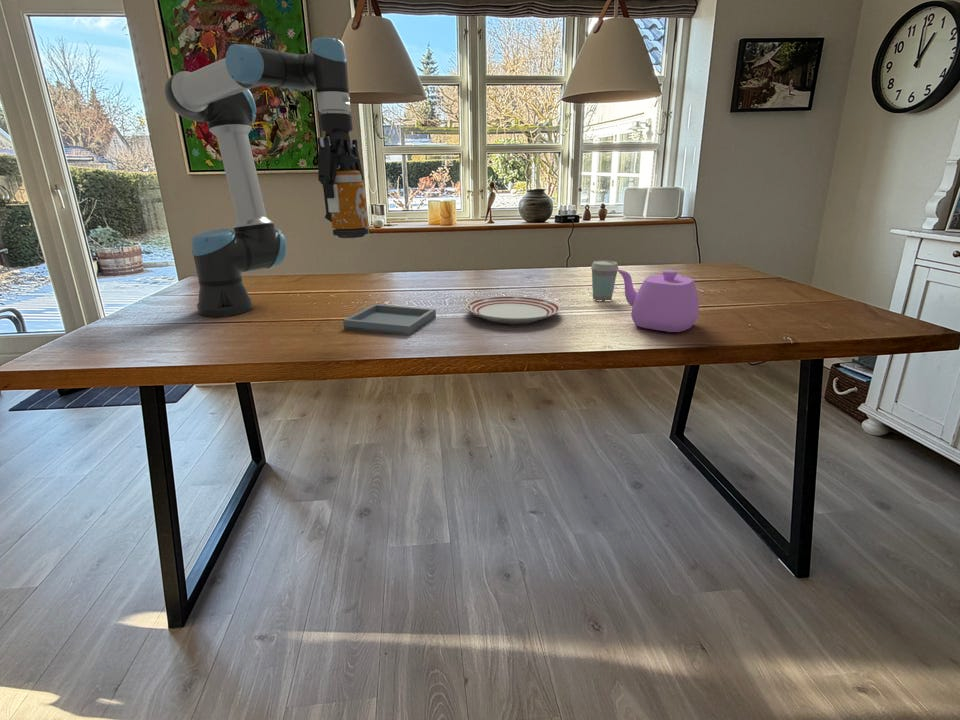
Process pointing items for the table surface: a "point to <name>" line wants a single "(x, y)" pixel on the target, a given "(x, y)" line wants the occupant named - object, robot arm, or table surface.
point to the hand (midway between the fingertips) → (345, 210)
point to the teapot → (663, 301)
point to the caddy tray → (390, 319)
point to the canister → (348, 201)
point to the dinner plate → (512, 309)
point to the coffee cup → (603, 279)
